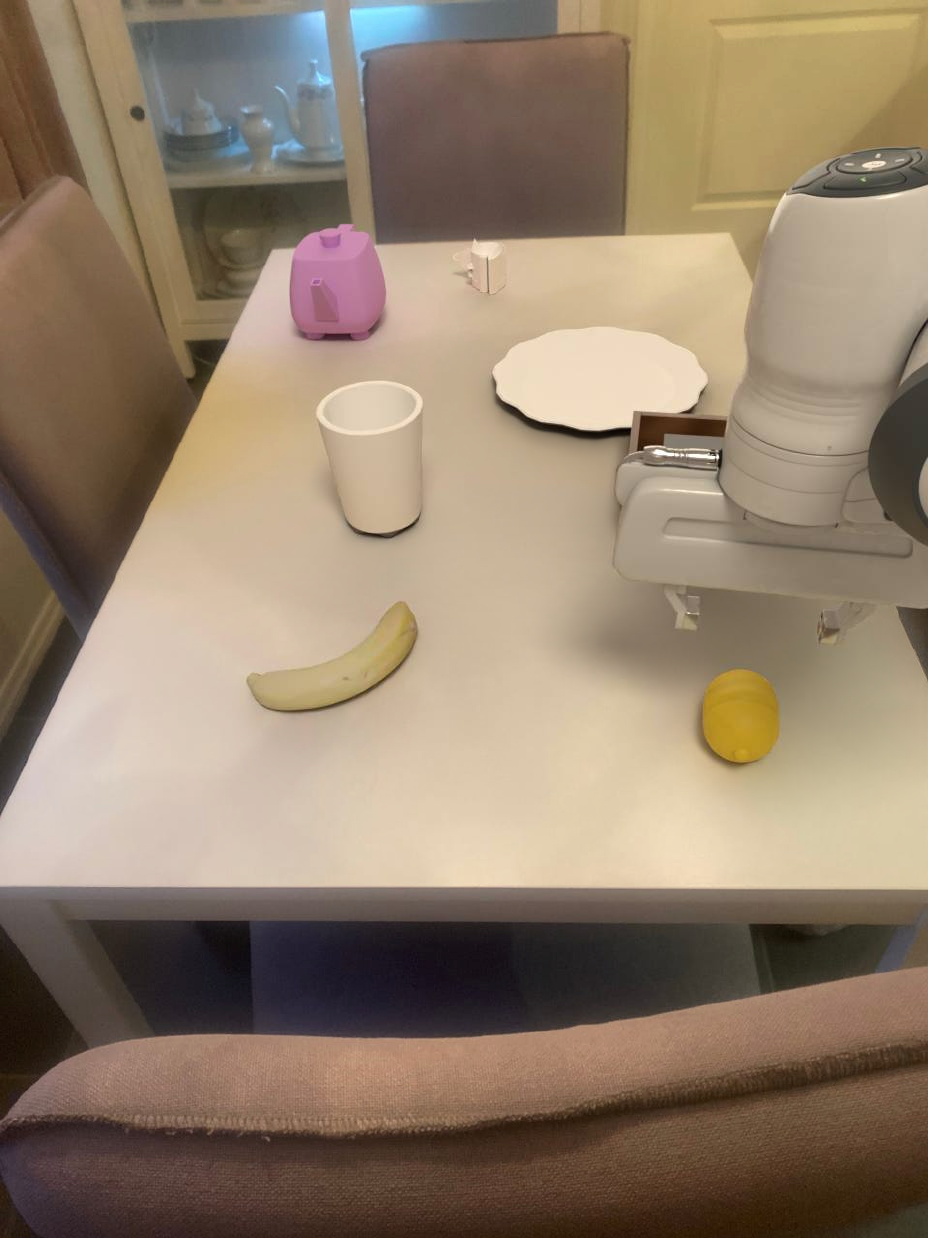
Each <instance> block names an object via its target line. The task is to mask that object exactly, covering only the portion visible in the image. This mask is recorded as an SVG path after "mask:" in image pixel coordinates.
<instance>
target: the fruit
mask: <svg viewBox="0 0 928 1238" xmlns="http://www.w3.org/2000/svg"><path fill="white" fill-rule="evenodd" d="M418 627H419V626H418V622H417V620H416V617H415V615H414V613H413V612H412V611H411V609H410V607H409V605H408V604H407V602H405V601H401V600H399V601H397V602H395V603H394V604H393V606H392V607H390V608H389V609H388V610H387V611H386V612H385V613H384V615H383V616H382V617H381V619H380V620H379V621H378V623H377V625H376V626H375V628H374V629H373V631H372V632H371V633H370V635H368V636H367V637H366V638H365V639H364V640H363V641H362V642H360V644H358V645H357V646H356V647H354V648H352V649H351V650H349V651H348V652H345V653H344V654H343V655H341V656H338V657H336V658H334V659H331V660H329V661H326V662H322V663H320V664H319V663H318V664H316V665H313V666H307V667H301V668H294V669H284V670H275V671H269V672H265V673H263V674H259V673H257V672H256V673H255V672H251V673H250V674H249V675H248V676H247V677H246V679H245V681H246V684H247V685H248V686H249V688H250V690H251V692H252V695H253V696H254V697H255V699H256V700H257V702H258V703H259V704H260V705H262V706H263V707H265V708H267V709H271V710H275V711H276V710H277V711H301V710H303V711H304V710H311V709H316V708H321V707H326V706H330V705H334V704H337V703H340V702H343V701H345V700H348V699H350V698H353V697H355V696H357V695H359V694H361V693H363V692H365V691H367V690H368V689H370V688H371V687H373V686H375V685H376V684H378V683H379V682H381V681H382V680H383V679H384V678H386V677H387V676H388V675H389V674H391V673H392V672H393V671H394V670H395V669H396V668H397V667H398V666H399V665H400V664H401V663H402V662H403V661H404V659H405V658H406V657H407V655H408V654H409V653H410V651H411V650H412V648H413V645H414V643H415V640H416V636H417V634H418V631H419V628H418Z"/></svg>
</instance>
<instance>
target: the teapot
mask: <svg viewBox="0 0 928 1238" xmlns="http://www.w3.org/2000/svg"><path fill="white" fill-rule="evenodd" d="M288 293H289V307H290V314H291V318H292V320H293V322H294V324H295V325H296V327H297V328H298V329H299V331H301V332H303V333H306V338H307V339H308V340H320V339H322V338H324V337H325V336H326V334H349V335H350V337H351V339H353V340H357V341H360V340H366V339H368V338H369V337H370V336H371V333H370V332H369V330H370V329H371V328H372V327H373V326H374V325H375V324H376V323H377V322H378V320H379V319H380V317H381V315H382V312H383V311H384V307H385V303H386V299H387V287H386V280H385V275H384V271H383V267H382V264H381V261H380V258H379V255H378V252H377V250H376V248H375V245H374V243H373V240H372V238H371V236H370V234H369V233H368V232H365V231H356V228H355V224H354V223H340V224H338V227H337V228H334V227H329V228H325V229H322V230H320V231H314V232H311V233H309V234H307V235H306V236H305V237H304V238H302V240H301V241H300V242H299V243H298V244H297V246H296V248H295V249H294V251H293V254H292V260H291V265H290V274H289V291H288Z"/></svg>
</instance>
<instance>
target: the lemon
mask: <svg viewBox="0 0 928 1238" xmlns="http://www.w3.org/2000/svg"><path fill="white" fill-rule="evenodd" d="M780 728H781V723H780V709H779V700H778V697H777V693H776V691H775V688H774V687H773V685H772V684H771V683H770V682H769V681H768V680H767V679H766V678H765V677H763V676H762V675H761V674H759V673H757V672H755V671H752V670H749V669H740V668H738V669H731V670H727V671H725V672H723V673H721V674H719V675H717V676H715V678H714V679H712V681H711V682H710V683H709V685H708V686H707V688H706V690H705V693H704V695H703V700H702V729H703V734H704V735H703V736H704V737H705V740H706V742H707V744H708V745H709V747H710V748H711V749H712V750H713V751H714V753H716V754H717V755H718V756H720V757H721V758H723V759H724V760H727V761H729V762H733V763H751V762H755V761H758V760H760V759H762V758H763V757H765V756H766V755H768V754H769V753H770V752H771V751H772V750H773V748H774V747H775V745H776V744H777V741H778V738H779V737H780Z"/></svg>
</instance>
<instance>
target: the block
mask: <svg viewBox="0 0 928 1238" xmlns="http://www.w3.org/2000/svg"><path fill="white" fill-rule="evenodd" d="M723 440H724V437H710V436H694V435H677V434H664V440H663V446H664V447H666V448H673V449H689V448H695V449H710V450H721V449H722V448H723Z"/></svg>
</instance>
